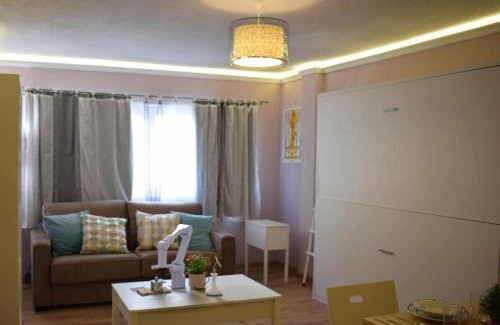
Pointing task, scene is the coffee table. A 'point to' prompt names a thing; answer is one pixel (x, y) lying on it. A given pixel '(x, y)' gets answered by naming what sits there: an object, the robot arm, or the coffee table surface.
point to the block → (158, 287)
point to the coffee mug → (208, 278)
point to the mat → (137, 288)
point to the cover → (156, 282)
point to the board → (153, 291)
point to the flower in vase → (213, 288)
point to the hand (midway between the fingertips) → (161, 279)
